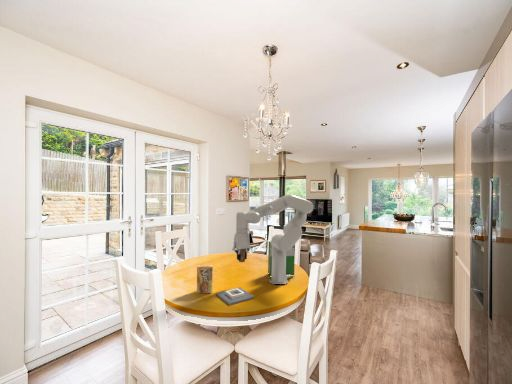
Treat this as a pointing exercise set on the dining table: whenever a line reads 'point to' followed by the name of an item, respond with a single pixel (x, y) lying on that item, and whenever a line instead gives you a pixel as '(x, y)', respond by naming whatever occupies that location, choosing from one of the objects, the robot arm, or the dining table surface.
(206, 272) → the candy box
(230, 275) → the dining table surface
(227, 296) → the board
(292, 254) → the hardback book
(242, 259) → the walnut pin
